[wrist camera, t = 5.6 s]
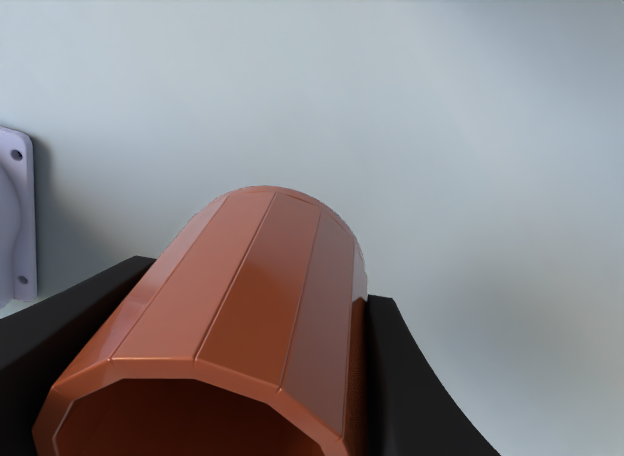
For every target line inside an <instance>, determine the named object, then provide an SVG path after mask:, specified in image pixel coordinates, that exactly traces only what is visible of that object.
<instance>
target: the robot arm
mask: <svg viewBox="0 0 624 456" xmlns="http://www.w3.org/2000/svg"><path fill="white" fill-rule="evenodd" d="M17 151H19V152H20V153H21V154H22V157H23V158H22V157H20V156H19V155H18V152H17ZM156 260H157V259H153V258H147V257H141V256H134V257H132V258H129V259H127V260H125V261H123V262H121V263H119V264H117V265H115V266H113V267H111V268H109V269H107V270H105V271H103V272H101V273H99V274H97V275H95V276H93V277H91V278H89V279H87V280H85V281H83V282H81V283H79V284H77V285H75V286H73V287H71V288H69V289H67V290H65V291H63V292H61V293H59V294H56V295H54V296H52V297H50V298H48V299H45V300H43V301H41V302H39V303H37V304H34V305H32V306H30V307H28V308H26V309H23V310H21V311H19V312H16V313H14V314H12V315H9V316H7V317H4V318H2V319H0V456H37V452H36V448H35V444H34V441H33V437H32V433H31V432H32V426H33V424H34V422H35V420H36V418H37V416H38V414H39V411H40V409H41V407H42V405H43V403H44V401H45V399H46V397H47V395H48V393H49V391H50V388H51V386H52V385H53V384H54V383H55V381H56V380H57V379H58V378H59V377H60V375H61V374H62V373H63V372H64V371H65V369H66V368H67V367H68V366H69V365H70V363H71V362H72V361H73V360H74V359H75V357H76V356H77V355H78V354H79V353H80V351H81V350H82V349H83V348H84V347H85V345H86V344H87V343H88V342H89V341H90V339H91V338H92V337H93V336H94V335H95V333H96V332H97V331H98V330H99V329H100V327H101V326H102V325H103V324H104V323H105V321H106V320H107V319H108V318H109V317H110V315H111V314H112V313H113V312H114V311H115V309H116V308H117V307H118V306H119V305H120V303H121V302H122V301H123V300H124V299H125V297H126V296H127V295H128V294H129V293H130V291H131V290H132V289H133V288H134V287H135V285H136V284H137V283H138V282H139V281H140V279H141V278H142V277H143V276H144V275H145V273H146V272H147V271H148V270H149V269H150V267H151V266H152V265H153V264H154V263H155V261H156ZM25 277H26V278H25ZM36 296H37V271H36V238H35V206H34V174H33V146H32V142H31V140H30V138H29V137H28V136H27V135H26V134H24V133H22V132H19V131H15V130H12V129H9V128H5V127H2V126H0V309H1V308H2V307H4V306H5V305H6V304H7V303H8V302H10V301H11V300H12V299H13V298H14V299H17V300H20V301H24V302H31V301H32V300H33V299H34V298H35V297H36ZM367 456H501V455H500V454H499V453H498V452H497V451H496V450H495V449H494V448H493V447H492V446H491V445H490V443H489V442H488V441H487V440H486V439H485V438H484V437H483V436H482V435H481V433H480V432H479V431H478V430H477V429H476V428H475V427H474V425H473V424H472V423H471V422H470V421H469V419H468V418H467V417H466V416H465V414H464V413H463V412H462V411H461V409H460V408H459V407H458V406H457V404H456V403H455V402H454V400H453V399H452V398H451V396H450V395H449V393H448V392H447V391H446V389H445V388H444V386H443V385H442V383H441V382H440V380H439V379H438V377H437V376H436V375H435V373H434V371H433V370H432V368H431V367H430V365H429V364H428V362H427V360H426V359H425V357H424V355H423V354H422V352H421V350H420V349H419V347H418V345H417V344H416V342H415V340H414V338H413V337H412V335H411V333H410V331H409V329H408V327H407V325H406V323H405V321H404V320H403V318H402V316H401V313H400V311H399V309H398V307H397V305H396V303H395V302H394V300H393V299H392V298H387V297H381V296H375V295H369V294H368V298H367Z"/></svg>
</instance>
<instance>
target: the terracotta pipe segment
mask: <svg viewBox="0 0 624 456" xmlns="http://www.w3.org/2000/svg"><path fill="white" fill-rule="evenodd" d="M31 433H32V437H33V441H34V444H35V448H36V452H37V456H367V275H366V272H365V263H364V258H363V254H362V251H361V248H360V246H359V243H358V241H357V239H356V237H355V236H354V234H353V232H352V231H351V229H350V228H349V227H348V225H347V224H346V223H345V222H344V221H343V220H342V219H341V218H340V217H339V215H338V214H336V213H335V212H334V211H333V210H332V209H330V208H329V207H328V206H326V205H325V204H323V203H322V202H320V201H318V200H317V199H315V198H313V197H311V196H308V195H306V194H304V193H301V192H298V191H295V190H292V189H288V188H282V187H276V186H251V187H246V188H240V189H237V190H234V191H231V192H228V193H226V194H224V195H222V196H220V197H218V198H216V199H214V200H213V201H212V202H210V203H209V204H207V205H206V206H205V207H204V208H203V209H202V210H201V211H200V212H198V213H197V214H195V215H194V216H193V217H192V218H191V219H190V221H189V222H188V223H187V224H186V225H185V227H184V228H183V229H182V230H181V231H180V233H179V234H178V235H177V236H176V237H175V239H174V240H173V241H172V242H171V243H170V245H169V246H168V247H167V248H166V249H165V251H164V252H163V253H162V254H161V255H160V257H159V258H158V259H157V260H156V261H155V263H154V264H153V265H152V266H151V267H150V269H149V270H148V271H147V272H146V273H145V275H144V276H143V277H142V278H141V279H140V281H139V282H138V283H137V284H136V285H135V287H134V288H133V289H132V290H131V291H130V293H129V294H128V295H127V296H126V297H125V299H124V300H123V301H122V302H121V303H120V305H119V306H118V307H117V308H116V309H115V311H114V312H113V313H112V314H111V315H110V317H109V318H108V319H107V320H106V321H105V323H104V324H103V325H102V326H101V327H100V329H99V330H98V331H97V332H96V333H95V335H94V336H93V337H92V338H91V339H90V341H89V342H88V343H87V344H86V345H85V347H84V348H83V349H82V350H81V351H80V353H79V354H78V355H77V356H76V357H75V359H74V360H73V361H72V362H71V363H70V365H69V366H68V367H67V368H66V369H65V371H64V372H63V373H62V374H61V375H60V377H59V378H58V379H57V380H56V381H55V383H54V384H53V385H52V386H51V388H50V391H49V393H48V395H47V397H46V399H45V401H44V403H43V405H42V407H41V409H40V411H39V414H38V416H37V418H36V420H35V422H34V424H33V426H32V432H31Z"/></svg>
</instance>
